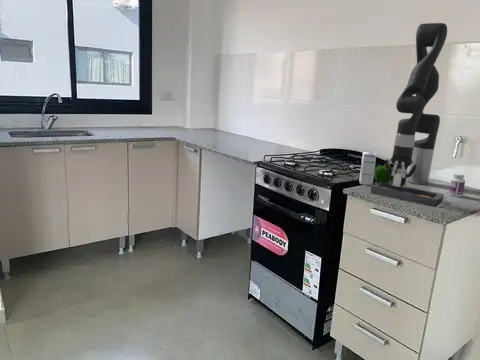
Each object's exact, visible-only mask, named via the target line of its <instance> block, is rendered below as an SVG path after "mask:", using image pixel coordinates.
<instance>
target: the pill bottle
mask: <svg viewBox="0 0 480 360" xmlns="http://www.w3.org/2000/svg"><path fill="white" fill-rule="evenodd" d="M464 178H465V174H463V173H457V172H455V173H454V174H453V177H452V178H451V181H450V185H449V191H448V195H449V196H451V197H456V198H461V197H463V195H464V190H465V184H466V180H465V179H464Z"/></svg>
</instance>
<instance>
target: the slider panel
mask: <svg viewBox="0 0 480 360" xmlns="http://www.w3.org/2000/svg"><path fill="white" fill-rule="evenodd" d="M370 193H371V194H373V195H374V194H375V195H380V196H383V197H387V198H393V199H396V198H397V199H396V200H402V201H405V200H406V201H407V202H410V203H414V202H415V204H420V205H424V206H430V207H434V208H437V207H438V206H439V205H441V203H442V202H444V196H445V194H444V193H440V192H434V191H430V190H425V189H419V188H416V187H410V186H405V185H404V186H400V187H395V186H393V185H392V183H391V182H389V183H386V182H379V183H377V182H376V183H375V184H373V185H370Z"/></svg>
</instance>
